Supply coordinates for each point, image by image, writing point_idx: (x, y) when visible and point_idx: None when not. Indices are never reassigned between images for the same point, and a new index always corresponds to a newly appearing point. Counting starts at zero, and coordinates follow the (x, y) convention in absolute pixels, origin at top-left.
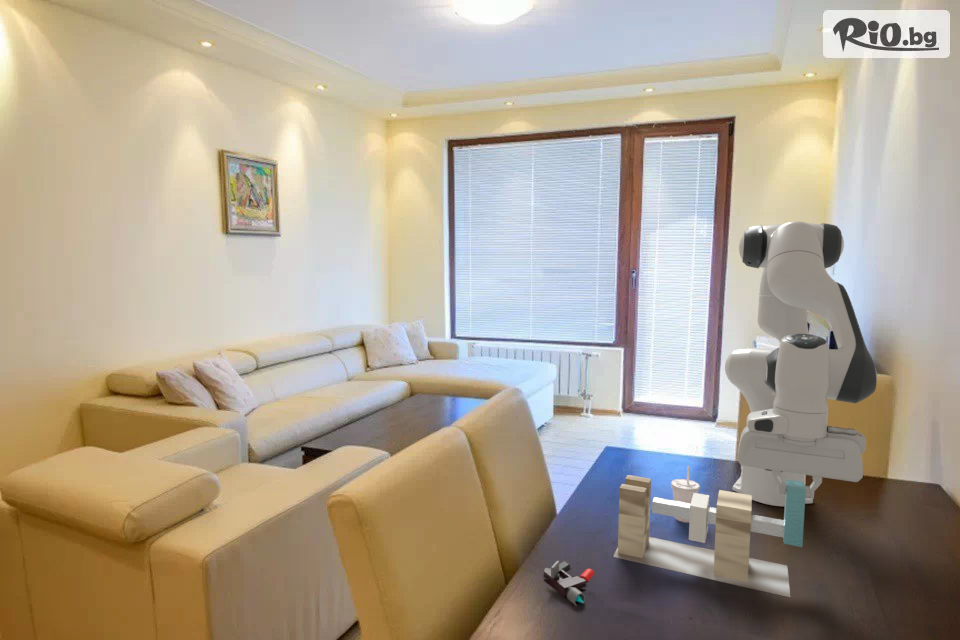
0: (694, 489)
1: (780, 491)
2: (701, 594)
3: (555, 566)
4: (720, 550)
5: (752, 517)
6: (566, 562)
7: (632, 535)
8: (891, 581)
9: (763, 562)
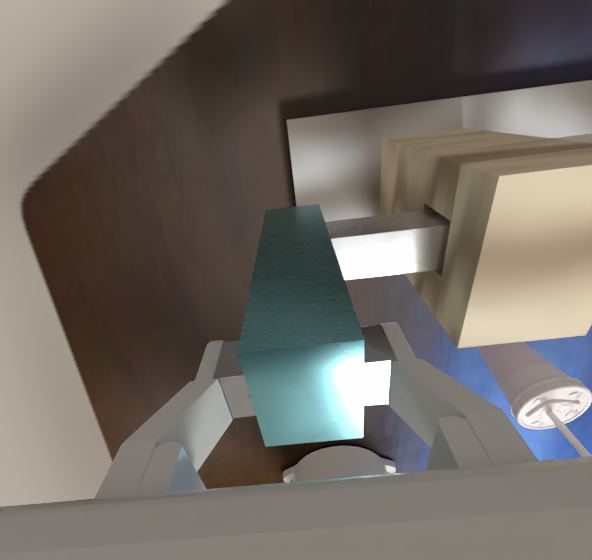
0: (535, 394)
1: (384, 330)
2: (493, 23)
3: None
4: (489, 134)
5: (438, 245)
6: None
7: None
8: (143, 318)
9: None
